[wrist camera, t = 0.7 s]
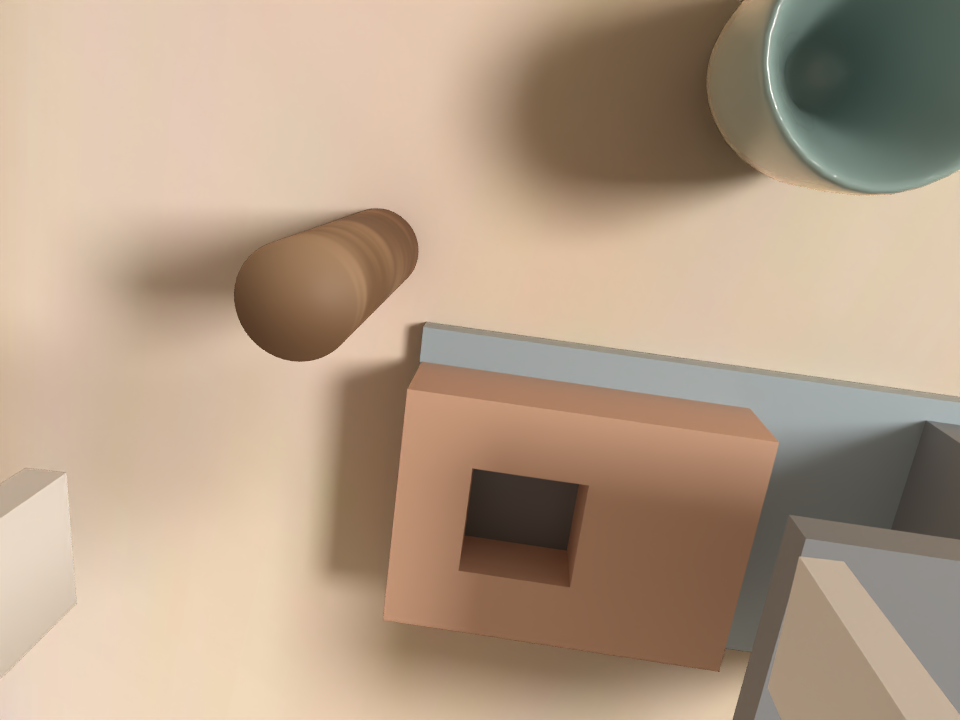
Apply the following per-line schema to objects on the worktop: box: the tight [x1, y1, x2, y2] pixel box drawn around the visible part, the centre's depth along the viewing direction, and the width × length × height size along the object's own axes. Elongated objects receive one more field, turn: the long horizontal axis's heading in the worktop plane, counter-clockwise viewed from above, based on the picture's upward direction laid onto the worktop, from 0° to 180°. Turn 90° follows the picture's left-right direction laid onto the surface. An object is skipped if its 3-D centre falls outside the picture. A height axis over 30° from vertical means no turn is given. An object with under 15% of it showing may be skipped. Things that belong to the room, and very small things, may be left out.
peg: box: [234, 209, 418, 362], centre depth 27 cm, size 4×4×12 cm
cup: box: [706, 0, 960, 195], centre depth 25 cm, size 8×8×10 cm
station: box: [383, 322, 960, 720], centre depth 27 cm, size 14×25×16 cm, turn 83°
